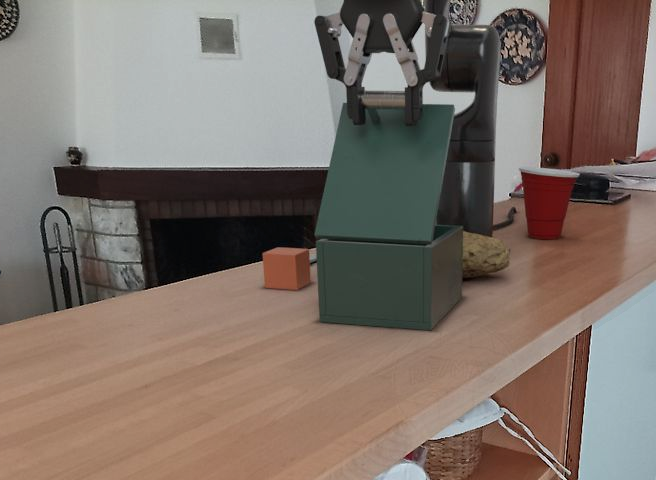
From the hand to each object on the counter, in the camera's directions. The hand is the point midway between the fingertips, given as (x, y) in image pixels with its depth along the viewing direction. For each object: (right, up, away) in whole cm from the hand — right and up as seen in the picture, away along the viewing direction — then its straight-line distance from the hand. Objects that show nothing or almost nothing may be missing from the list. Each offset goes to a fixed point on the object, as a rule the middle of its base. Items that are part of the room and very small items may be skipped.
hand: (384, 124), depth 81 cm
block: (-14, -14, +21) cm, 29 cm away
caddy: (0, -18, +10) cm, 21 cm away
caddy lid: (0, -5, +2) cm, 5 cm away
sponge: (+5, -12, +27) cm, 30 cm away
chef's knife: (-14, -8, +36) cm, 40 cm away
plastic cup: (+24, +1, +61) cm, 65 cm away
